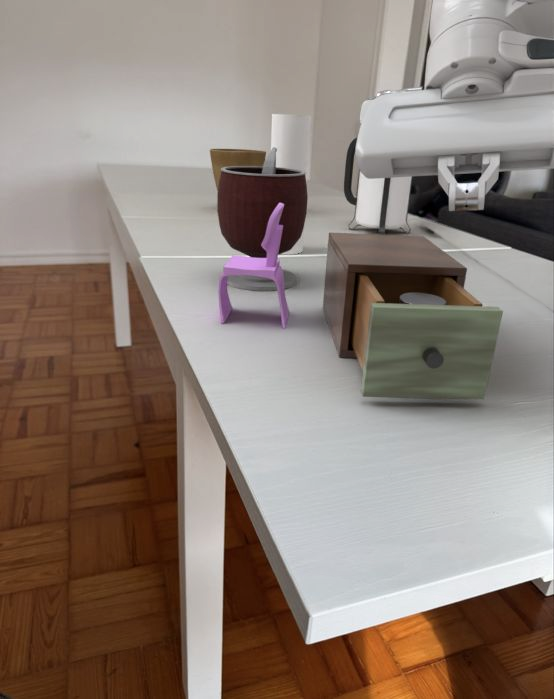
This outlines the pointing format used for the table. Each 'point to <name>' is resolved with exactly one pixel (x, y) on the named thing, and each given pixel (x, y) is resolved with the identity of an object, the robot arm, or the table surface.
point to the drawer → (421, 338)
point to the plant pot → (234, 159)
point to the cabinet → (375, 257)
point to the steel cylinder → (421, 299)
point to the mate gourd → (261, 213)
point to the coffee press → (377, 198)
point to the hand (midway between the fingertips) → (466, 206)
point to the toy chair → (258, 267)
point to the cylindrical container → (292, 149)
